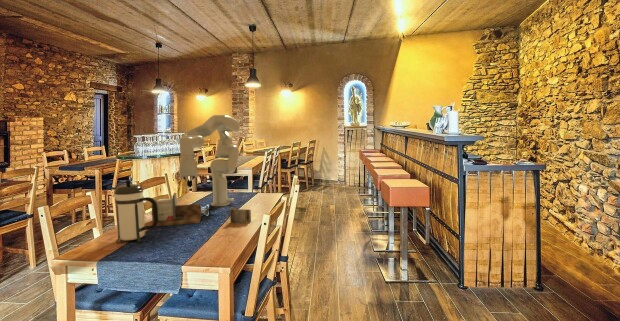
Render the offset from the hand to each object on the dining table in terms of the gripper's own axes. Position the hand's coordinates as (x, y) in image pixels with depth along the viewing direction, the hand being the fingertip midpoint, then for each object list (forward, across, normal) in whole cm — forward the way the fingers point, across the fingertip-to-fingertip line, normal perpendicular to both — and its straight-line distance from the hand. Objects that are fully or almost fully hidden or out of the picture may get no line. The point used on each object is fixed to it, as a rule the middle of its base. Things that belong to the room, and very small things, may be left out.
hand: (190, 187), depth 217 cm
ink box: (+16, +14, +10) cm, 23 cm away
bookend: (+16, +7, +10) cm, 19 cm away
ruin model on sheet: (+19, -28, +23) cm, 41 cm away
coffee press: (+16, +25, +38) cm, 48 cm away
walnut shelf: (+17, +7, +10) cm, 21 cm away
